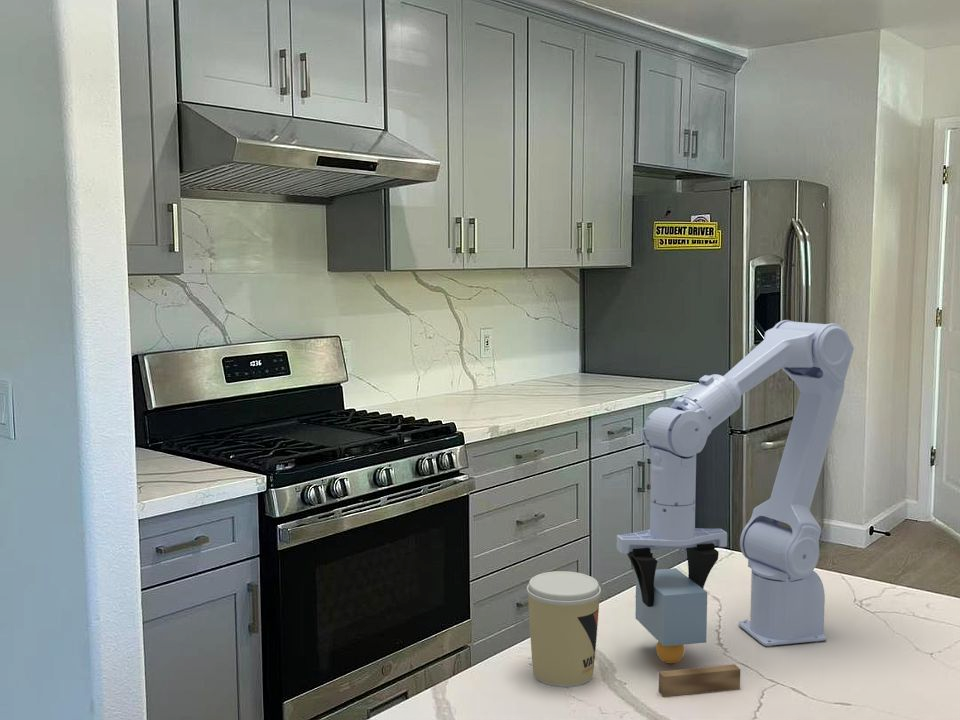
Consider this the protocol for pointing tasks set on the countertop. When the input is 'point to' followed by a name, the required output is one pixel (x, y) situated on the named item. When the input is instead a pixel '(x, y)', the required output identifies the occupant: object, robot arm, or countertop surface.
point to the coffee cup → (563, 627)
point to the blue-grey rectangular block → (674, 609)
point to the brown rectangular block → (699, 680)
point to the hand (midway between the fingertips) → (671, 602)
